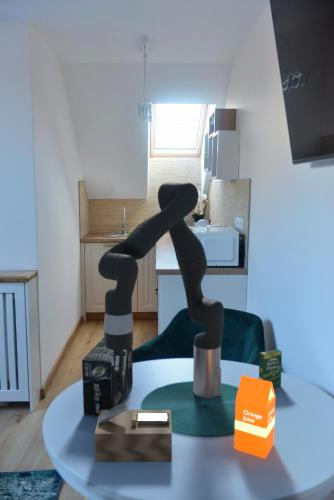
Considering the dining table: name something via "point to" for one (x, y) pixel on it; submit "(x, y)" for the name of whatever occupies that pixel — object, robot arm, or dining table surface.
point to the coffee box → (270, 366)
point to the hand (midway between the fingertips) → (119, 390)
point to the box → (103, 380)
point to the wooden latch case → (133, 439)
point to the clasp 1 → (113, 412)
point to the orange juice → (254, 416)
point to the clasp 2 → (153, 418)
